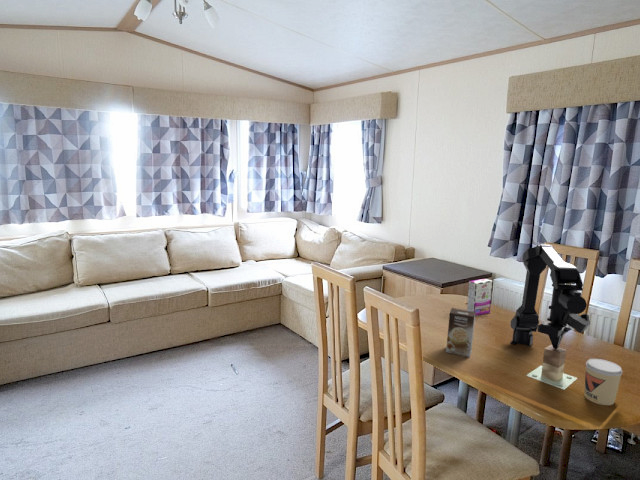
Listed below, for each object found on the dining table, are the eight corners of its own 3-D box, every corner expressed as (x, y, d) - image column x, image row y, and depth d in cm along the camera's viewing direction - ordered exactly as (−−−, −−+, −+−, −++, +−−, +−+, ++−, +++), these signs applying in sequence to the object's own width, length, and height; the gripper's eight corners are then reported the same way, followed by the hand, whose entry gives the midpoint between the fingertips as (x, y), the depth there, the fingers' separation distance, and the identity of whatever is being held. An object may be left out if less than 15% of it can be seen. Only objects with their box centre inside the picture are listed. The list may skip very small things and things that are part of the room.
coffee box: (445, 352, 167) (448, 312, 164) (447, 346, 173) (451, 307, 170) (470, 357, 163) (474, 316, 161) (472, 351, 169) (475, 311, 166)
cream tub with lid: (574, 393, 139) (579, 358, 137) (602, 393, 140) (607, 357, 138) (595, 410, 130) (600, 372, 128) (624, 409, 131) (630, 372, 129)
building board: (525, 378, 148) (526, 374, 148) (540, 367, 156) (541, 364, 156) (563, 392, 140) (564, 388, 139) (577, 380, 148) (577, 377, 147)
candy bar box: (482, 310, 217) (485, 278, 214) (490, 313, 213) (493, 280, 210) (465, 313, 212) (468, 280, 209) (473, 316, 207) (476, 283, 205)
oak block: (541, 376, 148) (542, 362, 147) (547, 371, 151) (548, 358, 150) (556, 381, 144) (558, 367, 143) (562, 377, 148) (564, 363, 147)
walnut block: (542, 362, 147) (544, 348, 146) (548, 358, 150) (550, 344, 150) (558, 367, 143) (560, 353, 143) (564, 363, 147) (566, 349, 146)
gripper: (577, 316, 131) (571, 365, 134) (598, 304, 143) (592, 349, 146) (539, 306, 139) (534, 352, 142) (562, 296, 152) (556, 338, 154)
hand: (555, 348), depth 146 cm, fingers closed
